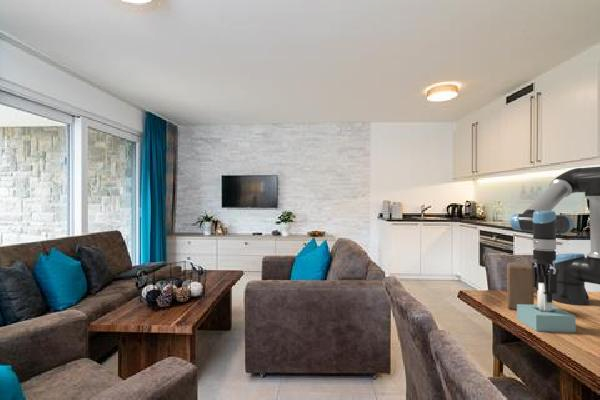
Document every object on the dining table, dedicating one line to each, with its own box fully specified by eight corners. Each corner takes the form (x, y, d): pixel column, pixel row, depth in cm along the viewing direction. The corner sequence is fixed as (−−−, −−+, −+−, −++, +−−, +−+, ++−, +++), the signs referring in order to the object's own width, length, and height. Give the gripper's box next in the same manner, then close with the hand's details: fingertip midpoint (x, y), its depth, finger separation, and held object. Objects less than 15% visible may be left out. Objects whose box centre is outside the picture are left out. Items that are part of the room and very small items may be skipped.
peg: (546, 317, 141) (546, 282, 141) (553, 320, 137) (552, 284, 137) (536, 317, 142) (536, 282, 142) (542, 320, 138) (542, 284, 138)
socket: (552, 319, 146) (552, 305, 146) (575, 332, 132) (575, 316, 132) (517, 318, 147) (516, 304, 147) (536, 331, 133) (536, 315, 133)
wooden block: (533, 312, 154) (533, 267, 154) (507, 309, 160) (507, 265, 160) (533, 306, 163) (532, 263, 163) (508, 303, 168) (507, 262, 168)
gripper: (523, 246, 148) (523, 302, 148) (547, 252, 132) (547, 315, 132) (541, 246, 148) (542, 302, 148) (568, 252, 131) (568, 315, 131)
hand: (544, 308), depth 140 cm, fingers closed on peg, 4 cm apart
